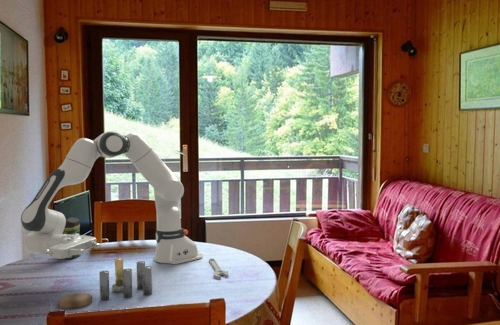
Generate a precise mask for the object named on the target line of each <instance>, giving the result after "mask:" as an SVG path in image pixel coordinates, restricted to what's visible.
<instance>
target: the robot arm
mask: <svg viewBox="0 0 500 325" xmlns="http://www.w3.org/2000/svg"><path fill="white" fill-rule="evenodd" d="M121 155H125V157H126V158H127V159H129V161H130V162H131V164H132V165H133V166H134V167H135V169H136V170H137V171H138V172H139V174H141V176H142V177H143V178H144V179H145V180H146V182H148V184H149V185H150V186H151V187H152V188H153V195H154V205H155V211H156V212H155V213H156V228H155V241H156V246H155V247H156V248H155V254H154V256H153V260H154V262H156V263H159V264H160V263H161V264H170V265H171V264H172V265H178V264H182V263H188V262H192V261H196V260H200V259H203V254H202V252H201V251H199V250H198V247H197V244H196V243H195V241H193V240H192V239H190V237H188V236H186V235H188V234H189V231H188V229H185V228H182V220H181V219H182V217H181V215H182V214H181V212H182V211H181V209H180V203H179V200H181V198H183V197H184V194H185V193H184V192H185V188H184V185H183V183H182V182H181V180H180V179H179V177H177V175H175V173H174V172H173V171H172V170H171V169H170V167H168V165H166V163H165V162H164V161H163V160H162V159H161V157H160V155H159V154H157V152H156V151H155V150H154V149H153V147H152V146H151V145H150V144H149V143H148V142H147V140H145V139H144V137H142V136H141V135H140V134H138V133H137V132H131V133H127V134H126V135H124V134H122V133H120V132H117V131H107V132H106V131H105V132H103V133H101V134H99V135H98V136H97V137H95V138H94V139H89V138H86V137H81V138H78V139H77V140H76V141H75V142H74V143H73V145H72V147H71V148H70V149H69V151H68V153H67V154H66V156H65V159H64V160H63V162H62V163H61V165H60V166H59V167H58V168H56V169H55V170H53V171H52V172H51V173H50V174H49V176H48V177H47V178H46V179H45V181H44V182H43V184H42V186H41V187H40V189H39V190H38V192H37V193H36V195H34V198H33V199H32V201H31V202H30V203H29V204H28V205H27V206H26V207H25V208H24V210H23V212H21V216H20V221H21V222H20V223H21V226H22V227H23V229H24V230H26V231H29V233H27V235H26V236H25V237H24V240H23V241H24V242H23V244H24V247H25V249H26V250H27V251H29V253H32V254H36V255H41V256H48V255H49V258H54V259H59V260H65V259H64V258H67V257H69V256H72V255H79V256H81V255H84V253H85V251H87V250H90V249H92V248H93V249H99V248H101V245H100V243H99V242H97V238H96V237H94V236H90V235H86V234H85V235H83V234H80V235H79V234H78V233H75V234H63V232H64V229H65V226H66V219H67V218H66V216H65V214H64V213H63V212H60V211H57V210H54V209H50V208H48V207H49V205H50V204H51V202H52V200H53V199H54V197H55V195H56V194H57V193H58V191H59V190H60V189H62V188H63V187H67V186H74V185H79V184H81V183H83V182H85V181H86V179H87V178H88V177H89V175H90V173H91V171H92V168H93V166H94V164H95V162H96V161H97V159H99V158H105V159H107V158H108V159H109V158H110V159H111V158H115V157H118V156H121Z"/></svg>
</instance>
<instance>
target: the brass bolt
mask: <svg viewBox="0 0 500 325" xmlns="http://www.w3.org/2000/svg"><path fill="white" fill-rule="evenodd" d="M114 265H115V266H114V270H115V272H114V273H115V276H114V277H115V283H113V284H112V285H111V292H112V293H114V294H123V269H124V258H122V257H117V258H115V259H114Z"/></svg>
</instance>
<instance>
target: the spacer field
mask: <svg viewBox="0 0 500 325" xmlns="http://www.w3.org/2000/svg"><path fill="white" fill-rule="evenodd" d="M152 273H153V272H152V266H149V265H147V266H146V261H142V260H141V261H140V260H139V261H137V262H136V289H137V290H142V293H143V294H142V295H143V296H151V295H153V280H152V278H153V277H152V276H153V274H152ZM98 274H99V300H100V301H102V302H106V301H109V300H110V298H111V297H110V271H109V270H101V271H99V273H98ZM122 297H123V299H131V298H132V297H133V270H132V268H129V267H128V268H123V293H122Z"/></svg>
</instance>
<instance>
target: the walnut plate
mask: <svg viewBox="0 0 500 325" xmlns="http://www.w3.org/2000/svg"><path fill="white" fill-rule="evenodd" d="M92 302H93V295H92V294H91V293H88V292H74V293H69V294H66V295H64V296H62V297H60V298H59V299H58V308H60V309H64V310H76V309H77V310H78V309H81V308H85V307H87V306H90V304H92Z"/></svg>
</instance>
